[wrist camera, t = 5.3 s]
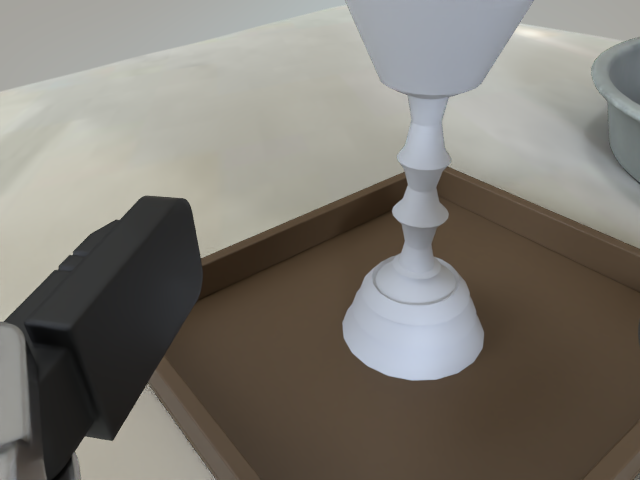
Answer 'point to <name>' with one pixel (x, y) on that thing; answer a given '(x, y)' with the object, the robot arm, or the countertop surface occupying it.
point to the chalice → (424, 182)
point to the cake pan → (622, 100)
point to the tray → (401, 394)
